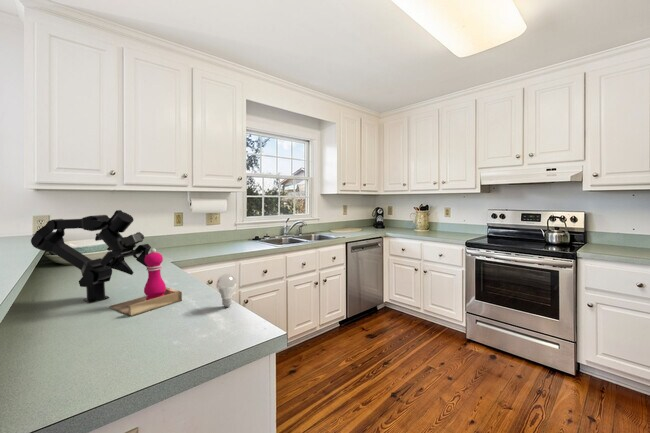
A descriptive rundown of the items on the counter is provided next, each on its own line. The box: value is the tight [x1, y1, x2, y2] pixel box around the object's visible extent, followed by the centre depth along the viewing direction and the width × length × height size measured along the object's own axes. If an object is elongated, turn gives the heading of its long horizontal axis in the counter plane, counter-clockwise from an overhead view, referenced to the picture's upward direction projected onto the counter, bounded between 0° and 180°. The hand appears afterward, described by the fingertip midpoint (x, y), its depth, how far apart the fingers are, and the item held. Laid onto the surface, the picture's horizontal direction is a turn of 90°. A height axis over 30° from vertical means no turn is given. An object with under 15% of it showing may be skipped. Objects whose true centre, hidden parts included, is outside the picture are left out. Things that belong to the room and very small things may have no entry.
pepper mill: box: [143, 248, 167, 301], centre depth 114 cm, size 7×7×20 cm
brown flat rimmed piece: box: [109, 286, 183, 318], centre depth 113 cm, size 16×18×4 cm
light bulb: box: [215, 273, 237, 308], centre depth 109 cm, size 7×7×12 cm
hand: (142, 270), depth 114 cm, fingers open, 9 cm apart
